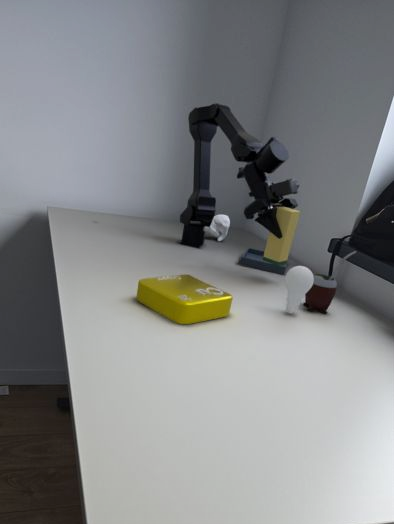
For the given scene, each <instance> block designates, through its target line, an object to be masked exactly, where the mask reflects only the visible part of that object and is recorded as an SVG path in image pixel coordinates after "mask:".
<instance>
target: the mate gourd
mask: <svg viewBox="0 0 394 524" xmlns="http://www.w3.org/2000/svg"><path fill="white" fill-rule="evenodd" d="M356 253H357V251H356V250H355V251H352V252H350V253H348V254H347V255H345V256H344V257H343V258H341V259H340V261H339V263H338V265H337V267H336V268H335V270H334V271H333V273H332V274H331V275H329V274H323V273H312V274H313V277H314V282H313V285H312V287H311V288H310V290H309V291H308V292H307V293H306V294H305V295H304V297H305V299H304V302H303V306H304V307H307V308H306V311H307V312H313V311H316V312H319V313H321V314H324V315H327V313H328V309H329V307H330V306H331V304H332V301H333V300H334V298H335V296H336V292H337V290H338V289H337V287H338V285H337V280H336V279H335V278H334V277H335V276H336V274H337V272H338V271H339V269H340V268H341V266H342V265H343V264H344V263H345V262H346V260H347V259H348V258H350V257H351V256H353V255H354V254H356Z"/></svg>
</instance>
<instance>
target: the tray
mask: <svg viewBox="0 0 394 524" xmlns="http://www.w3.org/2000/svg"><path fill="white" fill-rule="evenodd" d="M264 252H265V250H261V249H257V248H253V247H246V249H245V250H244V252H243V254H242V255H241V257H240V261H239V266H245V267H249V268H251V269H252V268H253V269H257V270H262V271H265V272H269V273H275V274H279V275H284V276H285V273H286V270H287V264H288V260H289V258H288V259H287V263H286V264H283V265H279V266H277V265H274V264H271V263H269V262H266V261H263V256H264Z"/></svg>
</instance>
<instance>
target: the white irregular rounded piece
mask: <svg viewBox="0 0 394 524" xmlns="http://www.w3.org/2000/svg"><path fill="white" fill-rule="evenodd" d="M230 226H231V220H230V217H229V215H227V214H215V216H214V218H213V221H212V223H211V225H210V227H207V226H205V231H206V234H208V235H212V236H214V237H216V238H217V240H216V241H217V242H222V241H223V240H224V239H225V238H226V237H227V234H228V231H229V229H230Z"/></svg>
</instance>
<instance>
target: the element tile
mask: <svg viewBox="0 0 394 524" xmlns="http://www.w3.org/2000/svg"><path fill="white" fill-rule="evenodd" d="M135 297H136V301H137V302H138V303H140V304H141V305H143V306H145V307H147V308H149V309H151V310H153V312H156V313H157V314H160V315H161V316H163V317H164V318H167V319H169V321H172V322H173V323H176V324H179V325H191V324H196V323H197V324H198V323H201V322H205V321H206V322H207V321H210V320H211V321H212V320H216V319H221V318H226V317H228V316H229V315H230V313H231V308H232V303H233V302H232V301H233V295H232V294H231V293H229V292H227V291H224V290H222V289H220V288H218V287H216V286H214V285H211V284H210V283H207V282H205V281H203V280H201V279H198V278H196V277H194V276H192V275H190V274H178V275H167V276H158V277H149V278H147V277H146V278H141V279H139V280H138V283H137V290H136V296H135Z"/></svg>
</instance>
